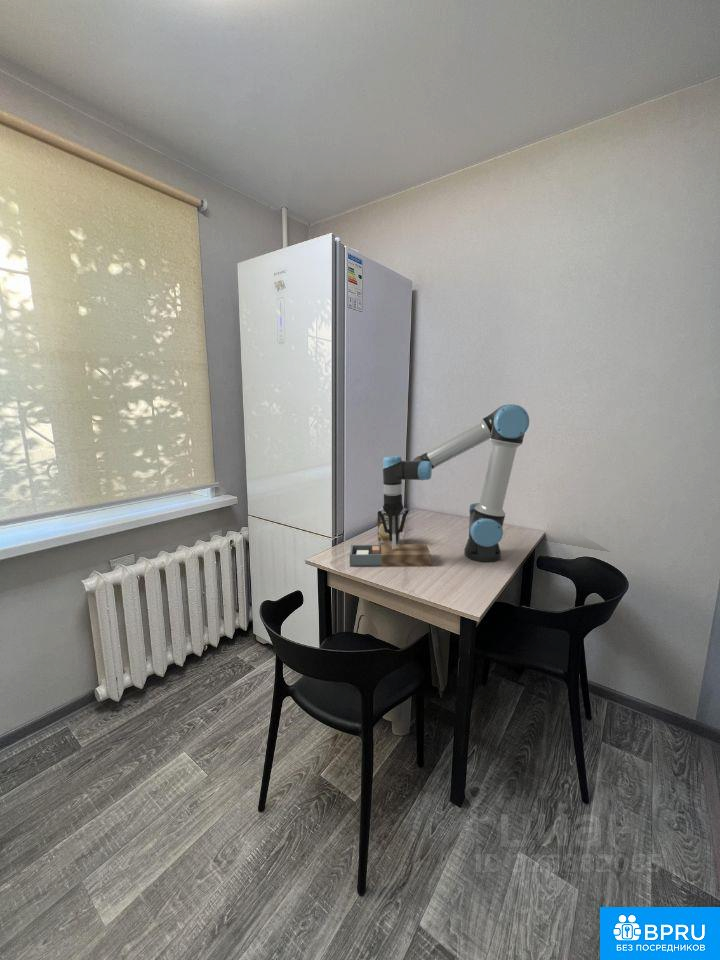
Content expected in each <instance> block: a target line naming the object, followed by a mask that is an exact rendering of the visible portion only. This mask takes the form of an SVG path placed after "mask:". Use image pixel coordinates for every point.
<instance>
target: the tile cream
mask: <svg viewBox="0 0 720 960" xmlns="http://www.w3.org/2000/svg"><path fill="white" fill-rule="evenodd" d="M357 554H369V550H357V553H356V555H357Z"/></svg>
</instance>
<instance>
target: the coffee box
mask: <svg viewBox="0 0 720 960" xmlns="http://www.w3.org/2000/svg"><path fill="white" fill-rule="evenodd" d="M400 514H401V513H400ZM400 514H399V515H398V529H400V524H401V517H400V516H401V515H400ZM383 515H384V519H385V522H386V526H387V529H389V515H387V513H386V512H385V511H384V514H383ZM392 532H395V516H392ZM400 534H401V532H400V533H399V534H398V541H396V545H401V543H400V542H401V541H400V536H401V535H400ZM377 545H392V541H390V540H389V533H385V530H384V527H383V523H382V520H381V516H380V515H379V514H378V513H377Z"/></svg>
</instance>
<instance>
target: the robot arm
mask: <svg viewBox="0 0 720 960" xmlns="http://www.w3.org/2000/svg"><path fill="white" fill-rule="evenodd" d="M529 427H530V416H529V413H528V411H527V410H526V409H525V408H524V407H523V406H520V405H518V404H515V403H514V404H511V403H510V404H509V403H508V404H505V405H504V404H503V405H501V406H499V407H498V408H496V409H495V410H494V411H492V412H491V413H490V414H488V415H487V416H485V417H483V418H482V419H481V421H480V422H479V423H478V424H475V425H474V426H472V427H470V428H468V429H466V430H464V431H463V432H461V433H459V434H457V435H455V436H453V437H452V438H450V439H448V440H447V441H446V440H445V442H443V443H441V444H439V445H437V446H435V447H433V448H432V449H430V450H428V451H426V452H425V453H422V454H421V455H418V456H415V457H414V458H413V460H406V461H405V460H402V457H401V456H400V455H388V456H385V457H383V459H382V479H383V485H382V486H383V505H382V508H381V509H377V515H378V514H379V515H380V516H381V520H382V523H383V527H384V530H385V533H389V540H390V541H392V549H396V541H398V534H399V533H400V534H401V533H403V531H404V527H405V523H406V518H407V516H408V514H409V509H408V508H405V507H404V505H403V494H402V493H403V488H402V487H403V486H402V485H403V480H411V481H414V480H415V481H428V480H431V478H432V474H433V473H432V472H433V471H432V470H433V469H435V468H437V467H439V466H441V465H442V464H444V463H446V462H449V461H450V460H452V459H454V458H456V457H458V456H460V455H462V454H464V453H466V452H467V451H470V450H471V449H474V448H475V447H477V446H479V445H481V444H482V443H484V442H485V443H486V441H488V440H490V442H491V443H492V446H491V451H490V455H489V458H488V459H489V460H488V464H487V468H486V473H485V477H484V482H483V487H482V491H481V496H480V500H479V502H474V503H471V504H470V505H469V511H468V512H469V521H468V522H469V524H468V525H469V526H468V539H467V542H466V545H465V546H464V552H463V553H464V554H463V555H464V556H465V557H466V558H468V559H469V560H473V561H476V562H481V563H484V562H486V563H492V562H497V561H499V560H500V559H501V557H502V551H501V547H500V544H499V542H501V541H502V538H503V535H504V530H503V525H504V523H505V522H504V521H505V518H506V513H505V511H504V509H503V507H504V503H505V499H506V495H507V492H508V487H509V482H510V478H511V474H512V470H513V465H514V460H515V456H516V453H517V449H518V447H520V446H521V445H523V441H524V438H525V434H526V432H527V431H528V430H529V429H528V428H529ZM384 511H385V512H386V513H387V515H389V529H387V526H386V522H385V519H384V515H383V514H384ZM401 513H402V515H401V519H400V529H398V515H399V514H401ZM392 516H395V532H392Z"/></svg>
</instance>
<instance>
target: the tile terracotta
mask: <svg viewBox="0 0 720 960" xmlns="http://www.w3.org/2000/svg"><path fill="white" fill-rule="evenodd" d="M372 554H380V553H379V546H372Z"/></svg>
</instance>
